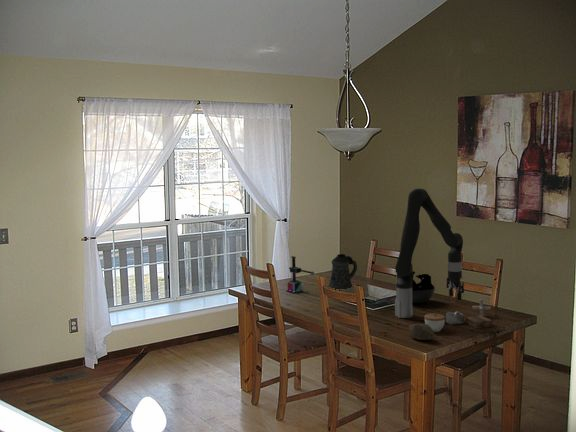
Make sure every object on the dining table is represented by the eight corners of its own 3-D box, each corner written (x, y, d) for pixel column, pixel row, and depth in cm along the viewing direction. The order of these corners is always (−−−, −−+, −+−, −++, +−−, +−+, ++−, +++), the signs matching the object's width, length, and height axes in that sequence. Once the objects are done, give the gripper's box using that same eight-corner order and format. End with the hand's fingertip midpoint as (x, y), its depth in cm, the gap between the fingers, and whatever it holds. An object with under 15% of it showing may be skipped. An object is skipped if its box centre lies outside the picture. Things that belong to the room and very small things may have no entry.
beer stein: (323, 291, 434) (322, 255, 431) (342, 285, 447) (341, 251, 444) (341, 294, 422) (340, 258, 419) (360, 289, 435) (359, 253, 432)
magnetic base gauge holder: (282, 290, 439) (281, 256, 436) (292, 288, 445) (291, 254, 442) (306, 296, 420) (305, 260, 417) (316, 294, 426) (315, 258, 423)
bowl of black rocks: (435, 307, 384) (435, 277, 381) (402, 306, 387) (401, 276, 385) (434, 299, 403) (433, 270, 401) (402, 298, 407) (401, 270, 405)
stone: (440, 340, 322) (440, 325, 321) (429, 344, 316) (429, 329, 316) (414, 333, 335) (413, 319, 334) (403, 337, 330) (402, 322, 329)
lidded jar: (444, 327, 344) (444, 310, 343) (445, 333, 333) (445, 316, 332) (424, 326, 346) (424, 310, 345) (424, 332, 336) (424, 315, 335)
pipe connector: (490, 314, 365) (490, 297, 364) (490, 319, 356) (490, 301, 355) (472, 313, 368) (472, 296, 367) (471, 318, 359) (471, 300, 358)
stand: (475, 328, 340) (475, 322, 340) (464, 322, 351) (464, 317, 351) (493, 325, 343) (493, 320, 343) (481, 320, 354) (482, 315, 354)
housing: (450, 324, 349) (450, 314, 348) (446, 322, 354) (446, 311, 353) (463, 323, 351) (463, 312, 350) (459, 320, 356) (459, 310, 355)
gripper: (442, 267, 354) (442, 296, 356) (455, 272, 341) (456, 302, 343) (454, 266, 356) (454, 294, 358) (467, 271, 343) (468, 300, 345)
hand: (455, 298), depth 350 cm, fingers open, 8 cm apart
